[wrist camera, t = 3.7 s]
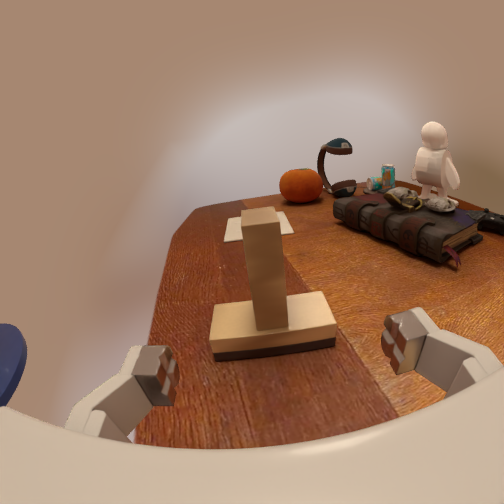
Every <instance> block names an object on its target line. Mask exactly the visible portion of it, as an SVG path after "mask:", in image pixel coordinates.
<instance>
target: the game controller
mask: <svg viewBox="0 0 504 504" xmlns="http://www.w3.org/2000/svg"><path fill="white" fill-rule="evenodd" d="M484 210H485V211H478V212H482V213H486V217H485V218H484V219H483V220H481V221H480V222H478V224H477V228H478V229H482V227H487V228H492V229H496V230H499V233H500V234H501V235H503V234H504V215H499V214H496V213H491V212H488V211H489V210H488V209H487V208H486V209H484Z"/></svg>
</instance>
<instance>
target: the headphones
mask: <svg viewBox="0 0 504 504" xmlns="http://www.w3.org/2000/svg"><path fill="white" fill-rule="evenodd" d="M326 151H327V152H328V153H331V154H335V155H347V154H352V146H351V144H350V143H349V142H348V141H347V140H345V139H342V138H337V139H334V140H332V141H330V142H328V143H327V144H325V145H323V146H322V147H321V150H320V152H319V156H318V161H317V168H318V174H319V175H320V177H321V179H322V181H323V185H324V187H325V188H326V189H327V190H328V192H329V193H331V194H335V195H337V196H341V197H350V196H352V195H353V194H354V192H355V190H356V188H357V184H356V181H355V180H346V181H341V182H338V183H335V184H334V185H332V186H331V185H330V183H329V182H328V180H327V178H326V175H325V172H324V157H325V154H326ZM360 188H369V187H360Z"/></svg>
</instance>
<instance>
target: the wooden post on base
mask: <svg viewBox="0 0 504 504" xmlns="http://www.w3.org/2000/svg"><path fill="white" fill-rule="evenodd" d="M241 231H242V238H243V244H244V251H245V258H246V264H247V271H248V277H249V284H250V290H251V297H252V301H244V302H235V303H226V304H217V305H214V312H213V318H212V324H211V331H210V338H209V341H210V345H211V348H212V351H213V354H214V358H215V361H226V360H238V359H249V358H258V357H267V356H275V355H282V354H289V353H296V352H303V351H309V350H315V349H320V348H326V347H331V346H335V341H336V327H337V323H336V321H335V318H334V316H333V314H332V312H331V310H330V308H329V305H328V303H327V301H326V299H325V297H324V295H323V292H322V291H318V292H311V293H305V294H298V295H291V296H287V295H286V283H285V271H284V259H283V248H282V237H281V227H280V221H279V218H278V216H277V214H276V211H275V209H274V207H265V208H257V209H249V210H242V211H241Z"/></svg>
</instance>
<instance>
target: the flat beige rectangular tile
mask: <svg viewBox="0 0 504 504" xmlns="http://www.w3.org/2000/svg"><path fill="white" fill-rule="evenodd" d="M276 214H277V216H278V218H279V221H280V227H281V235H286V234H294V231H293V229H292V227H291V226H290V224H289V222H288V220H287V218H286V216H285V214H284V212H276ZM239 240H243V238H242V231H241V217H236V218H229V219H228V223H227V228H226V233H225V239H224V242H232V241H239Z"/></svg>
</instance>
